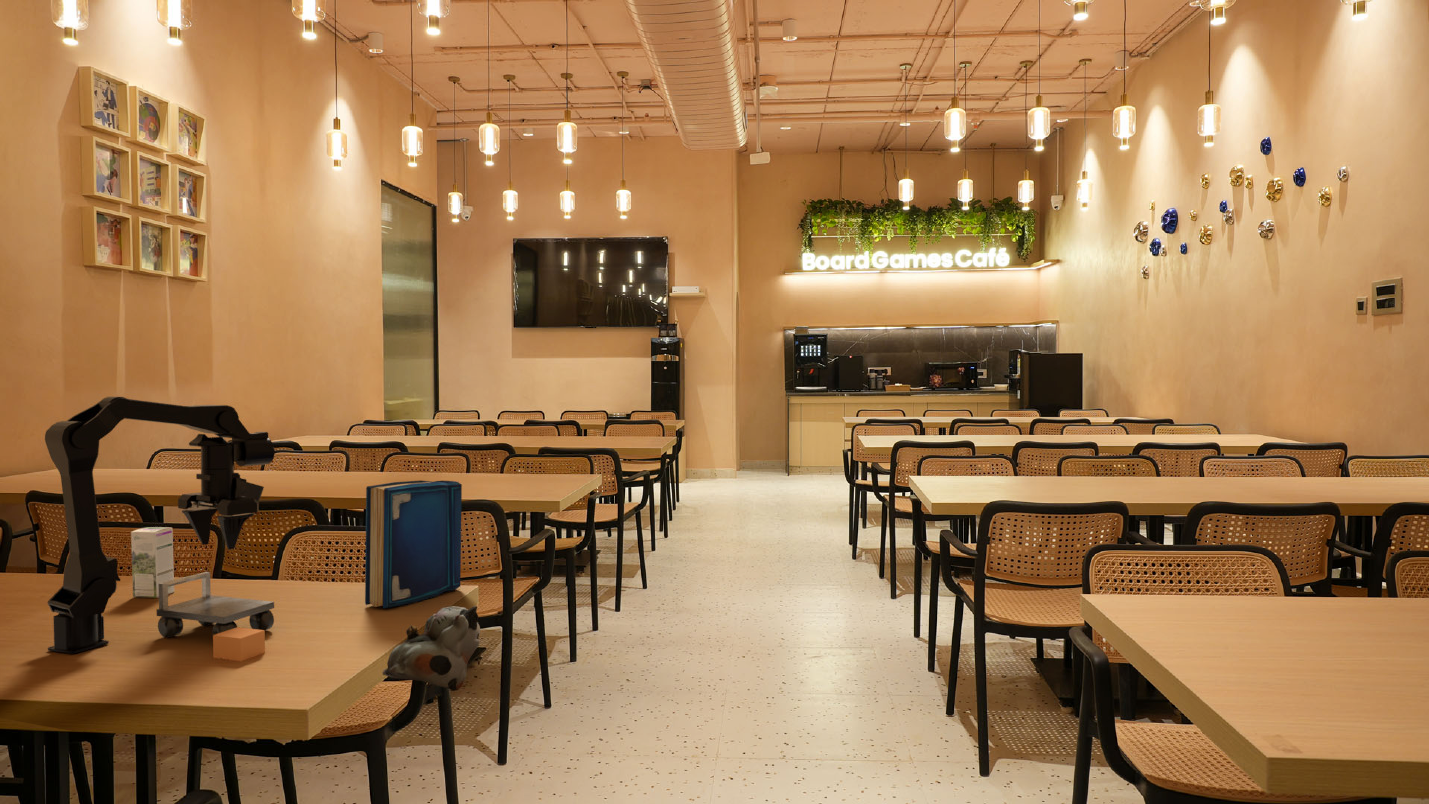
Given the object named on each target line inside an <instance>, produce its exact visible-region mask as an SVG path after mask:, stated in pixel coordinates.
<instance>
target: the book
mask: <svg viewBox="0 0 1429 804" xmlns="http://www.w3.org/2000/svg"><path fill="white" fill-rule="evenodd" d="M462 487H463V485H462V484H461V483H460V482H459V481H455V480H435V481H431V480H430V481H429V480H407V481H393V482H388V483H382V484H381V483H380V484H375V485H368V486H366V488H365V490H366V491H365V493H366V494H365V564H364V565H365V570H364V571H365V576H364V577H365V578H364V579H365V581H364V583H365V585H364V586H365V587H364V588H365V589H364V590H365V591H364V594H365V595H364V603H365V606H368V605H371V606H372V607H374V608H376V607H382V609H387V608H388V609H389V608H395V607H398V606H404V605H410V604H414V603H418V602H422V601H424V600H429V599H433V598H437V597H439V596H440V595H441V594H443V593H444V592H445V593H446V592H451V591H455V590H457V589H458V588H459V589H460V587H461V573H462V572H461V567H462V566H461V563H462V562H461V561H462V556H461V554H462V550H461V549H462V494H463V493H462V489H463V488H462Z"/></svg>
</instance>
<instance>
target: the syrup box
mask: <svg viewBox="0 0 1429 804" xmlns="http://www.w3.org/2000/svg"><path fill="white" fill-rule="evenodd" d="M173 531H174V530H173V527H167V526H165V527H162V526H159V527H158V526H155V527H154V526H153V527H152V526H151V527H148V526H147V527H146V526H145V527H141V528H138V529H135V530H133V531H130V538H131V540H130V542H131V543H130V544H131V545H130V546H131V572H132V597H133V598H144V599H145V598H147V599H148V598H150V599H151V598H152V599H155V598H157V599H159V583H163V582H167V581H171V580H175V577H174V575H175V574H174V573H175V571H174V569H175V568H174V532H173ZM172 593H175V585H174V586H170V587H168V595H170V594H172Z"/></svg>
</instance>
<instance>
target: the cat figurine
mask: <svg viewBox="0 0 1429 804" xmlns="http://www.w3.org/2000/svg"><path fill="white" fill-rule="evenodd" d="M477 610H478V606H477V605H476V606H472V607H471V608H469V609H467V608H466V607H465V606H464V607H463V606H462V607H461V606H453V605H452V606H448V607H442V608H441V609H439V610H438V611H437V613H433V614H432V615H431V616H430V617H429V618H428V619H427V620H426V623H425V625H424V630H423V631H424V632H423V633H422V634H419V632H418V631H419V630H418V629H417V627H416V626H414V625H412V624H410V626H409V627H408V628H407V629H406V636H407V638H406V639H404V641H403V643H401V644H398V645H397V646H396V647H395V648H393V650H392V651H391V652H390V655H389V657H388V660H387V663H386V664H387V668H385V669H383V671H382V673H381V674H382V675H384V676H387V677H389V678H392V680H393V681H397V680H409V681H410V680H411V681H421V682H423V683H426V684H430V685H433V686H436V687H440V688H444V689H449V690H451V691H452V692H454V691H458V690H460V689H461V688H462V686H464V682H465V680H466V678H467V670H468V669H467V667H468V662H469V660H471V659H470V658H471V657H472V655H473V654H474V652H475V651H476V649H478V647H479V646H480V642H481V639H480V635H481V627H480V624H479V622H478V620H479V614H478V613H477Z"/></svg>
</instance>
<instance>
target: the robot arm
mask: <svg viewBox="0 0 1429 804" xmlns="http://www.w3.org/2000/svg"><path fill="white" fill-rule="evenodd" d="M239 418H240V417H239V414H238V412H237V411H236V409H235V407H233V406H231V405H225V404H198V405H179V404H171V403H165V402H164V403H163V402H155V401H154V402H153V401H148V400H147V401H146V400H138V399H131V398H127V397H124V396H106V397H104V398H102V399H101V400H100V401H98V402H97V403H95V404H93V405H92V406H91V407H89V408H86V409H85V410H82V411H80V412H78V413H77V414H74V415H73V416H71V417H70V418H68V419H66V420H61V421H57V422H55V423H53V424H52V425H50V427H49V428H48V429H47V430H45V434H44V442H45V445H46V449H47V452H48V454H49V457H50V459H51V460H52V462H53V463H54V465H55V468H56V469H57V470H58V472H59V476H60V481H61V488H62V489H61V490H62V497H63V506H64V515H65V521H66V522H65V523H66V528H67V529H66V531H67V538H68V539H67V540H68V547H69V555H68V558H67V561H66V564H65V566H64V569H63V582H62V583H63V584H62V586H61V587H60V588H59V589H58V590H57V591H56V592H55V593H54V594H53V595H52V596H51V597H50V598H49V600H48V601H47V605H48V607H49V609H50V611H51V612H52V613H56V615H53V646H49V647H47V651H49V652H55V653H56V652H57V653H63V654H71V655H74V654H77V653H81V652H85V651H88V650H91V649H95V648H98V647H102V646H105V645H108V644H109V640H105V618H104V615H102V614H104V613H105V611H106V607H107V604H108V602H109V600H110V598H111V597H112V596H113V595H114V594H115V593H116V591H117V589H118V588H117V585H118V583H117V582H121V577H119V573H118V565H119V563H118V559H117V558H115V557H112V556H111V557H110V556H106V554H105V553H104V551H103V549H102V548H103V547H102V542H101V533H100V531H101V530H100V524H99V515H98V506H97V499H96V491H95V490H96V489H95V482H94V474H93V471H94V468H95V466H96V462H97V459H98V456H99V451H100V450H99V449H100V440H101V439H103V438H105V437H106V436H107V435H109V433H111V432H112V431H113V430H114V429H115V428H116V426H117V425H118V424H119V423H121V421H123V420H133V421H143V422H150V423H151V422H153V423H160V424H161V423H162V424H170V425H179V426H182V427H185V428H188V429H189V430H193V431H196V432H200V433H197V435H196V437H195V438H194V439H192V440H190V441H189V442H188V445H189V446H190V447H199V448H200V473H196V474H195V475H196V476H195V477H196V479H195V480H200V492H192V493H182V495H180V496H179V498H177V508H178V509H179V510H180V509H181V514H184V516H185V517H186V519H187V520H188V522H189V524H190V526H191V527H192V529H193V530H194V532H195V534H196V536H197V537H198V540H199V541H200V543H201V545H203V546H206V545H209V543H210V538H211V528H212V521H213V520H212V519H213V517H214V515H215V514H216V512H217V511H218V514H219V515H217V520H218V521H217V522H218V524H219V526H220V530H221V533H222V536H223V539H224V542H225V545H226V548H227V550H229V551H230V550H234V549H235V548H236V546H237V542H238V539H239V536H240V533H241V530H242V528H243V526H244V523H245V522H246V521H247V520H248V519H250V518H251V517H253V516H254V515H255V513H259V511H260V510H259V507H260V506H259V505H260V504H259V503H260V500H261V497H262V494H263V491H264V488H265V487H264V486H262V485H259V484H257V483H256V484H255V483H252V482H248V481H247V479H246V478H241V474H240V473H239V472H235V464H236V465H237V466H238V467H249V466H264V465H270V464H271V463H272V462H273V461H274V458H275V453H276V452H275V451H276V450H275V447H274V444H273V441H272V440H271V439H270V438H269V432H268V431H256V432H253V433H252V432H251V433H250V432H249V431H248V429H247V428H246V427H245V426H244V424H243V423H242V421H241V420H240V419H239ZM207 434H213V435H215V436H213V437H208V435H207ZM226 438H227V439H231V440H229V441H227V440H226Z"/></svg>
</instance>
